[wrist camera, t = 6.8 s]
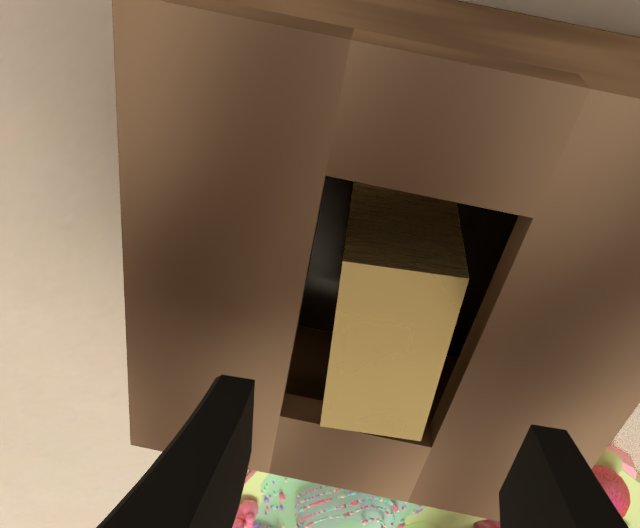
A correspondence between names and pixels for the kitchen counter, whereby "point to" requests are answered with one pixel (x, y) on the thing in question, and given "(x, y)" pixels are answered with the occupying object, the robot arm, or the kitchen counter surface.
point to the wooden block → (393, 311)
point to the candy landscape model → (397, 502)
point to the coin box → (389, 172)
